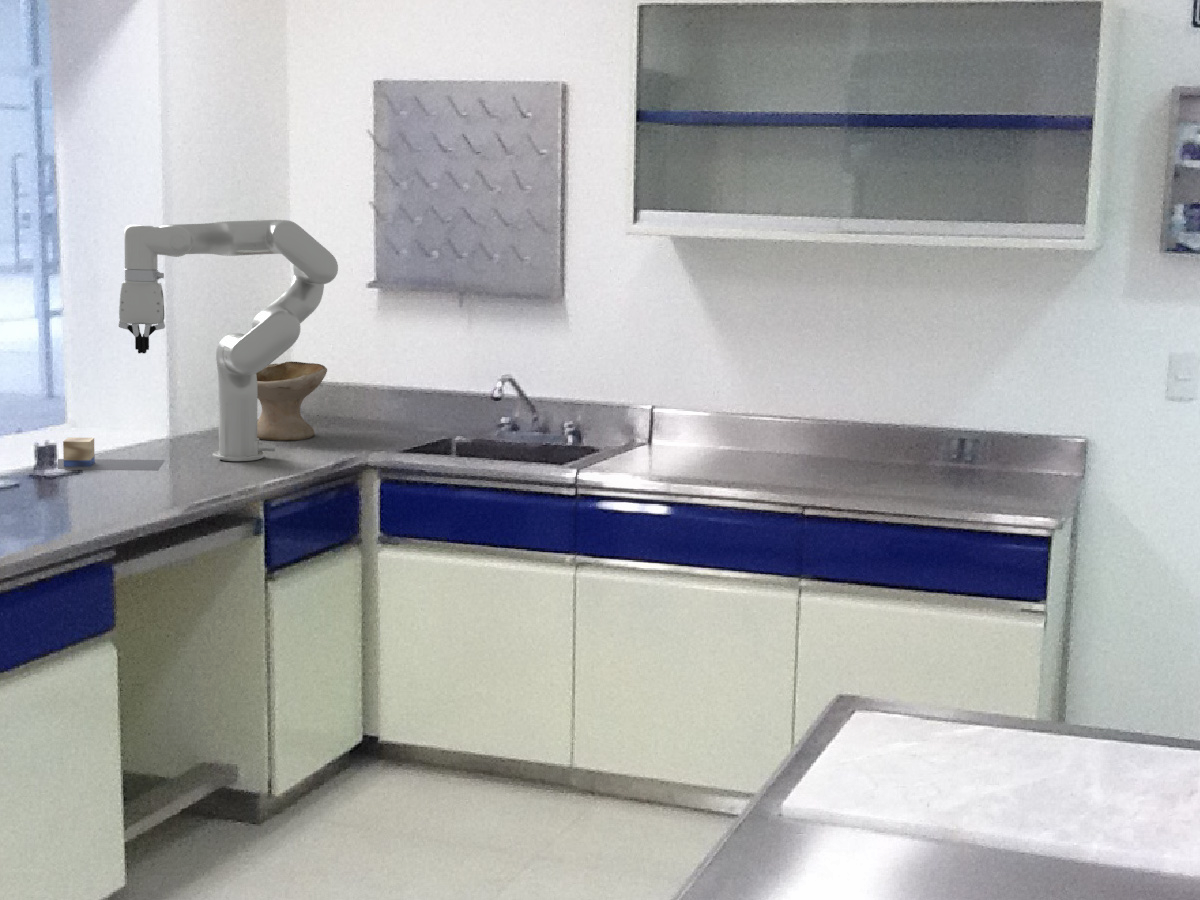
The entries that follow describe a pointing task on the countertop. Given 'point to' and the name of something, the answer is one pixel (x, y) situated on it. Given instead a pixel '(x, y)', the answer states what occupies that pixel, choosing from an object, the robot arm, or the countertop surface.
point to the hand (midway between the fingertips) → (142, 352)
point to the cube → (78, 452)
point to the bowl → (286, 399)
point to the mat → (116, 465)
